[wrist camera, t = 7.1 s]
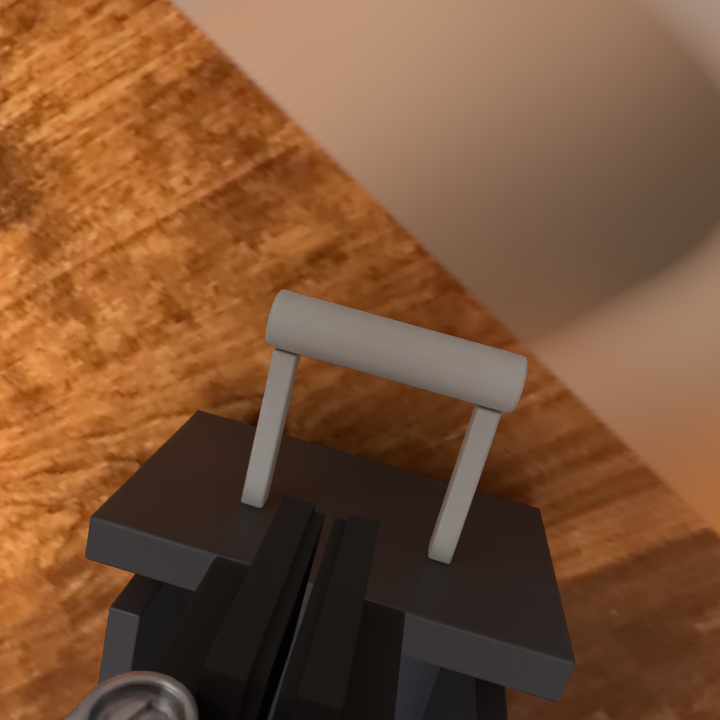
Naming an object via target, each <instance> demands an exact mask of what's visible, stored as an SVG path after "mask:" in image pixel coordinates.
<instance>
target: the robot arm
mask: <svg viewBox="0 0 720 720" xmlns="http://www.w3.org/2000/svg"><path fill="white" fill-rule="evenodd" d="M315 506H316V502H313V501H309V500H306V499H302V498H299V497H295V496H292V495H288V494H285V496H284V497H283V499H282V501H281V503H280V506H279V508H278V510H277V512H276V514H275V516H274V518H273V520H272V522H271V524H270V526H269V528H268V530H267V532H266V535H265V537H264V539H263V541H262V543H261V545H260V547H259V549H258V551H257V553H256V555H255V557H254V559H253V562H252V564H251V566H250V565H246V564H243V563H240V562H236V561H233V560H229V559H226V558H223V557H219V556H217V557H216V558H215V559H214V560H213V562H212V563H211V565H210V567H209V568H208V570H207V572H206V574H205V575H204V577H203V579H202V580H201V582H200V584H199V586H198V587H197V589H196V591H195V593H194V594H193V596H192V598H191V599H190V601H189V603H188V605H187V606H186V608H185V610H184V612H183V613H182V615H181V617H180V619H179V620H178V622H177V624H176V625H175V627H174V629H173V631H172V632H171V634H170V636H169V638H168V639H167V641H166V643H165V645H164V646H163V648H162V650H161V651H160V653H159V655H158V657H157V658H156V660H155V662H154V664H153V665H152V667H151V669H150V670H149V671H132V672H127V673H123V674H118V675H116V676H114V677H111V678H109V679H107V680H105V681H103V682H101V683H100V684H99V685H97V686H96V687H95V688H94V689H93V690H91V691H90V692H89V693H88V694H87V695H86V696H85V697H84V698H83V699H82V700H81V701H80V703H79V704H78V705H77V706H76V707H75V708H74V709H73V710H72V711H71V713H70V714H69V715H68V716H67V717H66V718H65V719H64V720H268V717H269V714H270V710H271V707H272V704H273V701H274V698H275V695H276V692H277V689H278V686H279V683H280V680H281V677H282V674H283V670H284V667H285V664H286V661H287V658H288V655H289V652H290V648H291V645H292V641H293V638H294V634H295V630H296V626H297V622H298V619H299V615H300V611H301V607H302V603H303V600H304V596H305V592H306V588H307V584H308V580H309V577H310V573H311V569H312V565H313V561H314V557H315V554H316V550H317V546H318V542H319V538H320V535H321V531H322V527H323V523H324V519H325V514H323V513H320V512H316V511H315ZM379 524H380V521H378V520H375V519H371V518H368V517H364V516H361V515H357V514H354V513H351V512H350V513H349V516H348V520H344V519H340V518H337V517H335V519H334V522H333V525H332V529H331V532H330V535H329V538H328V541H327V544H326V547H325V550H324V553H323V557H322V560H321V563H320V566H319V569H318V572H317V575H316V578H315V582H314V585H313V588H312V591H311V594H310V597H309V600H308V603H307V606H306V610H305V613H304V616H303V619H302V622H301V625H300V628H299V631H298V635H297V638H296V641H295V644H294V647H293V650H292V653H291V656H290V660H289V663H288V666H287V669H286V672H285V675H284V679H283V682H282V685H281V689H280V692H279V696H278V699H277V703H276V706H275V710H274V714H273V718H272V720H394V717H395V708H396V699H397V689H398V680H399V671H400V661H401V652H402V643H403V633H404V624H405V611H402V610H398V609H395V608H392V607H388V606H385V605H381V604H378V603H375V602H371V601H368V600H365V594H366V589H367V584H368V579H369V574H370V569H371V564H372V559H373V554H374V549H375V544H376V539H377V534H378V529H379Z"/></svg>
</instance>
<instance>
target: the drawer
mask: <svg viewBox="0 0 720 720" xmlns="http://www.w3.org/2000/svg"><path fill="white" fill-rule="evenodd" d="M265 339H266V344H267V345H268V346H271V347H274V348H276V349H275V350H274V351H273V354H272V359H271V364H270V368H269V373H268V377H267V382H266V387H265V391H264V396H263V401H262V405H261V410H260V415H259V419H258V424H257V427H255V426H252V425H248V424H245V423H241V422H238V421H235V420H231V419H228V418H224V417H221V416H217V415H214V414H210V413H207V412H203V411H200V410H199V411H197V412H196V413H195V414H194V415H193V416H192V417H191V418H190V419H189V420H188V421H187V422H186V423H185V424H184V425H183V426H182V427H181V428H180V429H179V430H178V431H177V432H176V433H175V434H174V435H173V436H172V437H171V438H170V439H169V440H168V441H167V442H166V443H165V444H164V445H162V446H161V447H160V448H159V449H158V450H157V451H156V452H155V453H154V454H153V455H152V456H151V457H150V458H149V459H148V460H147V461H146V462H145V463H144V464H143V465H142V466H141V467H140V468H139V469H138V470H137V471H136V472H135V473H134V474H133V475H132V476H131V477H130V478H129V479H128V480H127V481H126V482H125V483H124V484H123V485H122V486H121V487H120V488H119V489H118V490H117V491H116V492H115V493H114V494H113V495H112V496H111V497H110V498H109V499H108V500H107V501H106V502H105V503H104V504H103V505H102V506H101V507H100V508H99V509H98V510H97V511H96V512H95V513H94V514H93V515H92V516H91V518H90V525H89V533H88V540H87V548H86V555H85V556H86V558H87V559H90V560H93V561H96V562H99V563H103V564H106V565H109V566H113V567H116V568H119V569H122V570H126V571H129V572H132V573H135V575H134V576H133V578H132V579H131V580H130V582H129V583H128V584H127V586H126V587H125V588H124V589H123V591H122V592H121V593H120V595H119V596H118V597H117V599H116V600H115V601H114V602H113V604H112V605H111V606H110V610H109V616H108V623H107V629H106V636H105V643H104V649H103V656H102V663H101V669H100V676H99V682H98V685H99V684H100V683H101V682H103V681H105V680H107V679H109V678H111V677H114V676H116V675H118V674H123V673H127V672H132V671H149V670H150V669H151V667H152V665H153V664H154V662H155V660H156V658H157V657H158V655H159V653H160V651H161V650H162V648H163V646H164V645H165V643H166V641H167V639H168V638H169V636H170V634H171V632H172V631H173V629H174V627H175V625H176V624H177V622H178V620H179V619H180V617H181V615H182V613H183V612H184V610H185V608H186V606H187V605H188V603H189V601H190V599H191V598H192V596H193V594H194V593H195V591H196V589H197V587H198V586H199V584H200V582H201V580H202V579H203V577H204V575H205V574H206V572H207V570H208V568H209V567H210V565H211V563H212V562H213V560H214V559H215V558H216V557H217V556H219V557H223V558H226V559H229V560H233V561H236V562H240V563H243V564H246V565H250V566H251V564H252V562H253V559H254V557H255V555H256V553H257V551H258V549H259V547H260V545H261V543H262V541H263V539H264V537H265V535H266V532H267V530H268V528H269V526H270V524H271V522H272V520H273V518H274V516H275V514H276V512H277V510H278V508H279V506H280V503H281V501H282V499H283V497H284V496H285V494H288V495H292V496H295V497H299V498H302V499H306V500H309V501H313V502H316V506H315V511H316V512H320V513H323V514H325V519H324V523H323V527H322V531H321V535H320V538H319V542H318V546H317V550H316V554H315V557H314V561H313V565H312V569H311V573H310V577H309V580H308V584H307V588H306V592H305V596H304V600H303V603H302V607H301V611H300V615H299V619H298V622H297V626H296V630H295V634H294V638H293V641H292V645H291V648H290V652H289V655H288V658H287V661H286V664H285V667H284V670H283V674H282V677H281V680H280V683H279V686H278V689H277V692H276V695H275V698H274V701H273V704H272V707H271V710H270V714H269V717H268V720H272V718H273V714H274V710H275V706H276V703H277V699H278V696H279V692H280V689H281V685H282V682H283V679H284V675H285V672H286V669H287V666H288V663H289V660H290V656H291V653H292V650H293V647H294V644H295V641H296V638H297V635H298V631H299V628H300V625H301V622H302V619H303V616H304V613H305V610H306V606H307V603H308V600H309V597H310V594H311V591H312V588H313V585H314V582H315V578H316V575H317V572H318V569H319V566H320V563H321V560H322V557H323V553H324V550H325V547H326V544H327V541H328V538H329V535H330V532H331V529H332V525H333V522H334V519H335V517H337V518H340V519H344V520H348V516H349V513H350V512H351V513H354V514H357V515H361V516H364V517H368V518H371V519H375V520H378V521H380V524H379V529H378V534H377V539H376V544H375V549H374V554H373V559H372V564H371V569H370V574H369V579H368V584H367V589H366V594H365V600H368V601H371V602H375V603H378V604H381V605H385V606H388V607H392V608H395V609H398V610H402V611H405V624H404V633H403V643H402V652H401V661H400V671H399V680H398V689H397V699H396V708H395V717H394V720H508V714H507V703H506V691H505V687H508V688H511V689H515V690H518V691H521V692H525V693H528V694H531V695H534V696H538V697H541V698H544V699H547V700H551V701H554V702H558V701H559V699H560V697H561V695H562V693H563V690H564V688H565V686H566V684H567V681H568V679H569V677H570V675H571V672H572V670H573V668H574V666H575V659H574V655H573V650H572V646H571V642H570V637H569V633H568V629H567V624H566V620H565V616H564V612H563V607H562V603H561V599H560V594H559V590H558V586H557V581H556V577H555V573H554V568H553V564H552V560H551V556H550V551H549V547H548V543H547V538H546V534H545V530H544V525H543V521H542V517H541V512H540V510H539V509H538V508H535V507H531V506H528V505H524V504H521V503H518V502H514V501H511V500H507V499H504V498H500V497H497V496H493V495H490V494H487V493H483V492H480V491H476V488H477V485H478V482H479V479H480V476H481V473H482V470H483V467H484V464H485V461H486V458H487V456H488V453H489V450H490V447H491V444H492V441H493V438H494V435H495V432H496V429H497V426H498V424H499V421H500V418H501V412H505V413H512V412H513V410H514V409H515V407H516V406H517V404H518V402H519V399H520V397H521V394H522V391H523V388H524V384H525V380H526V375H527V369H528V361H527V358H526V357H525V356H523V355H520V354H516V353H512V352H509V351H505V350H502V349H498V348H494V347H491V346H487V345H484V344H480V343H476V342H473V341H469V340H466V339H462V338H458V337H455V336H451V335H447V334H444V333H440V332H437V331H433V330H429V329H426V328H422V327H419V326H415V325H411V324H408V323H404V322H401V321H397V320H393V319H390V318H386V317H383V316H379V315H375V314H372V313H368V312H364V311H361V310H357V309H354V308H350V307H346V306H343V305H339V304H336V303H332V302H328V301H325V300H321V299H318V298H314V297H310V296H307V295H303V294H299V293H296V292H292V291H289V290H285V289H284V290H280V292H279V293H278V294H277V296H276V298H275V300H274V302H273V304H272V307H271V310H270V313H269V317H268V321H267V326H266V333H265ZM301 355H303V356H306V357H310V358H313V359H317V360H320V361H324V362H327V363H331V364H335V365H338V366H342V367H345V368H349V369H352V370H356V371H359V372H363V373H366V374H370V375H374V376H377V377H381V378H384V379H388V380H391V381H395V382H398V383H402V384H405V385H409V386H412V387H416V388H420V389H423V390H427V391H430V392H434V393H437V394H441V395H444V396H448V397H451V398H455V399H459V400H462V401H466V402H469V403H473V404H475V406H474V409H473V412H472V415H471V418H470V421H469V424H468V427H467V430H466V433H465V436H464V440H463V443H462V446H461V449H460V452H459V455H458V458H457V461H456V464H455V467H454V470H453V473H452V476H451V479H450V482H445V481H442V480H438V479H435V478H431V477H428V476H424V475H421V474H417V473H414V472H411V471H407V470H404V469H400V468H397V467H393V466H390V465H386V464H383V463H380V462H376V461H373V460H369V459H366V458H362V457H359V456H355V455H352V454H348V453H345V452H342V451H338V450H335V449H331V448H328V447H324V446H321V445H317V444H314V443H310V442H307V441H304V440H300V439H297V438H293V437H290V436H286V435H283V430H284V426H285V421H286V417H287V413H288V408H289V404H290V400H291V395H292V391H293V387H294V382H295V378H296V374H297V369H298V365H299V361H300V356H301ZM500 411H501V412H500Z"/></svg>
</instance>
